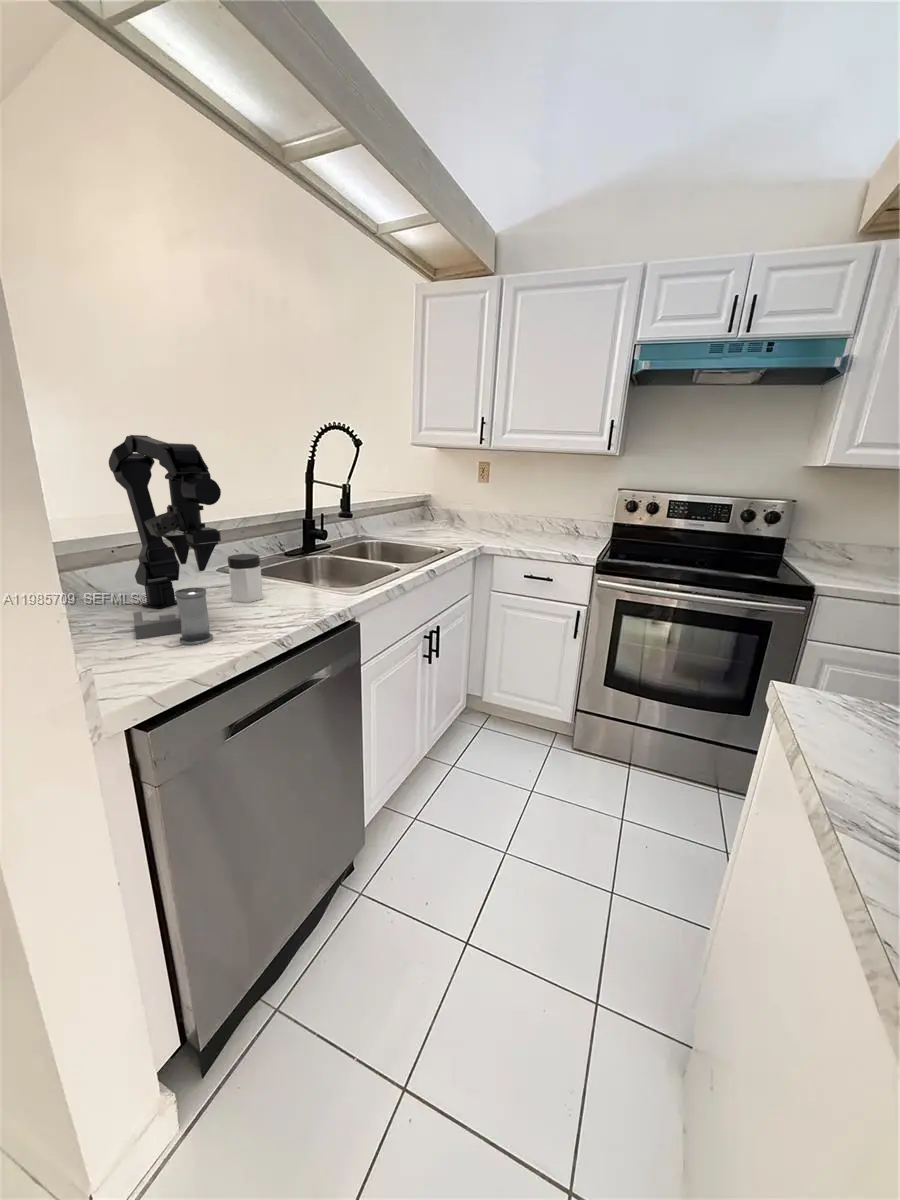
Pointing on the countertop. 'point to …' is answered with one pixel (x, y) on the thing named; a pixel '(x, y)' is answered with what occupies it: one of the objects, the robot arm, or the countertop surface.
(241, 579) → the jar
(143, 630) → the u-shaped bracket
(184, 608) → the dark grey flanged cylinder
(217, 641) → the countertop surface
